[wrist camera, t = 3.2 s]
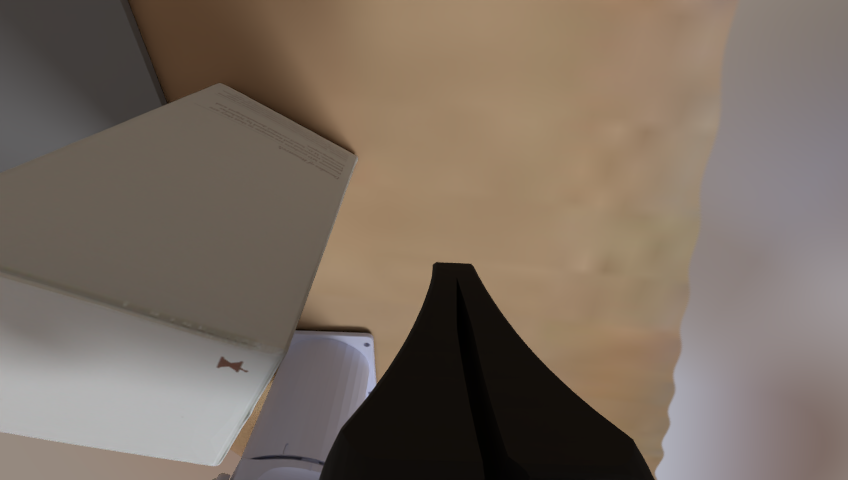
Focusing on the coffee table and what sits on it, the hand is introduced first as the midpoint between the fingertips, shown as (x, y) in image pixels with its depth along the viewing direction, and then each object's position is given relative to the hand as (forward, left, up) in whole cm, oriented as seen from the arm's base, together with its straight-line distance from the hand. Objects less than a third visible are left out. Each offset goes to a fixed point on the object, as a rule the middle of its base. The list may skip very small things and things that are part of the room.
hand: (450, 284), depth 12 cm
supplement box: (0, +9, -8) cm, 13 cm away
